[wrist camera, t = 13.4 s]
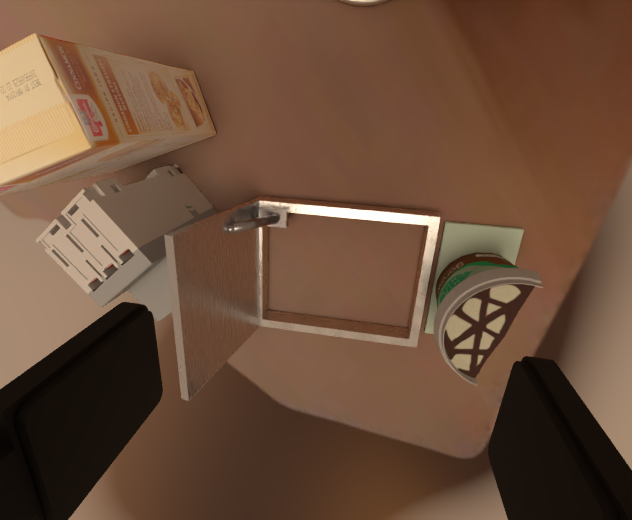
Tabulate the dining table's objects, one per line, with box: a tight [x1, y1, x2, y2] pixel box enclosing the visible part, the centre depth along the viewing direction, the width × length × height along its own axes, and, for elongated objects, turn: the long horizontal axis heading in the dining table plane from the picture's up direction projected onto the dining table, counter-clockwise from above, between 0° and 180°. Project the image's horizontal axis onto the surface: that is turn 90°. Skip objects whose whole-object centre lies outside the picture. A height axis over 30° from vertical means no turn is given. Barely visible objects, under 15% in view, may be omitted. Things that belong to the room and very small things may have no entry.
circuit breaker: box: [36, 164, 218, 321], centre depth 39 cm, size 8×14×15 cm, turn 38°
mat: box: [424, 221, 524, 334], centre depth 42 cm, size 14×8×1 cm, turn 177°
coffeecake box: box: [0, 33, 216, 195], centre depth 33 cm, size 15×7×20 cm, turn 108°
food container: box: [433, 252, 543, 386], centre depth 38 cm, size 12×6×10 cm, turn 161°
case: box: [164, 196, 440, 401], centre depth 37 cm, size 16×23×16 cm
